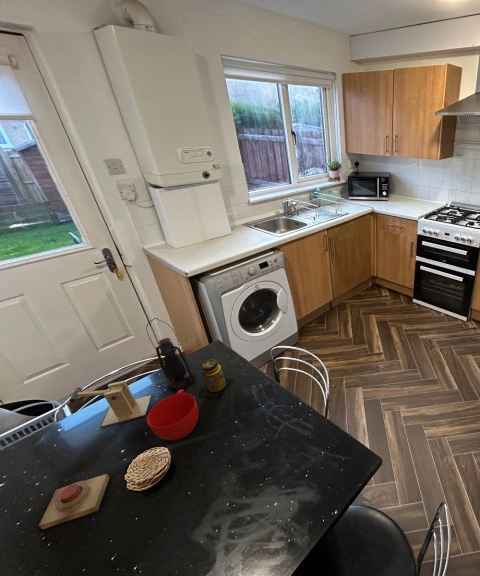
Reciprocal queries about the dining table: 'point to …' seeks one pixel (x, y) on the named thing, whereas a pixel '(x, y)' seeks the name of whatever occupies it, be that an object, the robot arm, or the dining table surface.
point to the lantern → (173, 363)
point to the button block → (75, 502)
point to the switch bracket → (124, 404)
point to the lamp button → (70, 493)
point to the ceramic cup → (174, 416)
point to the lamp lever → (91, 392)
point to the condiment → (213, 375)
